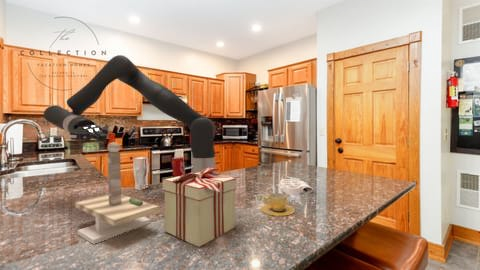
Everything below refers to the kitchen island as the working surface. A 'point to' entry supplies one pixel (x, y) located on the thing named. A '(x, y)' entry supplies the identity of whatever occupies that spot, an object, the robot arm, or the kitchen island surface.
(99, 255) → the kitchen island surface
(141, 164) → the beer glass
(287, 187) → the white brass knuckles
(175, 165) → the beverage can
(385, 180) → the kitchen island surface
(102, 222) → the deck stand
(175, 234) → the gift box
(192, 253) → the kitchen island surface
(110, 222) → the platform
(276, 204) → the cup
